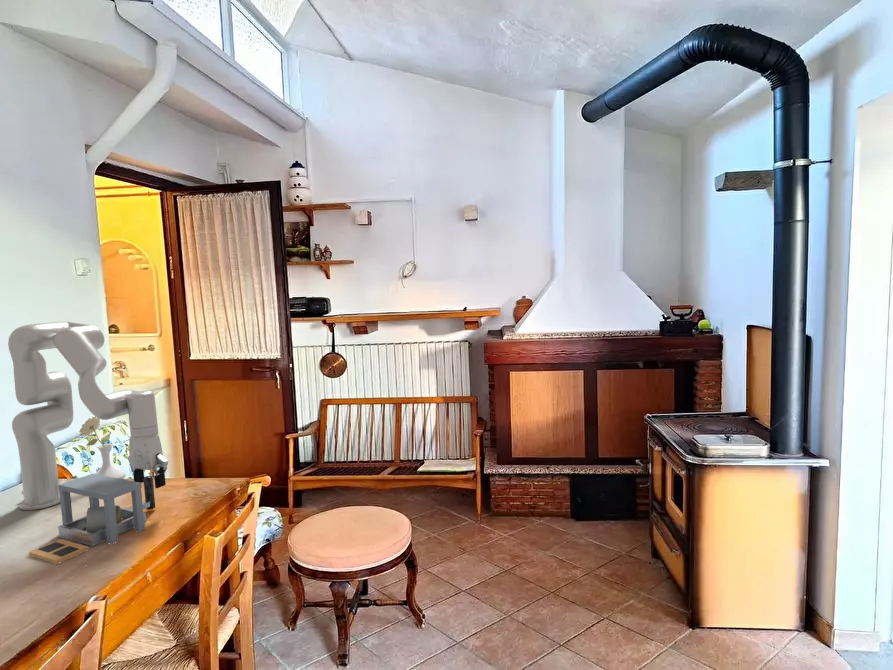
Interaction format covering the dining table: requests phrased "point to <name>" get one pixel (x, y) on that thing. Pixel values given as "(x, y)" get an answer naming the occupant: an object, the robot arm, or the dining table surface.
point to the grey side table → (106, 491)
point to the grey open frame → (76, 534)
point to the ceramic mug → (99, 518)
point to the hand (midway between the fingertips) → (149, 484)
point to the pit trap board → (58, 551)
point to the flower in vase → (101, 449)
